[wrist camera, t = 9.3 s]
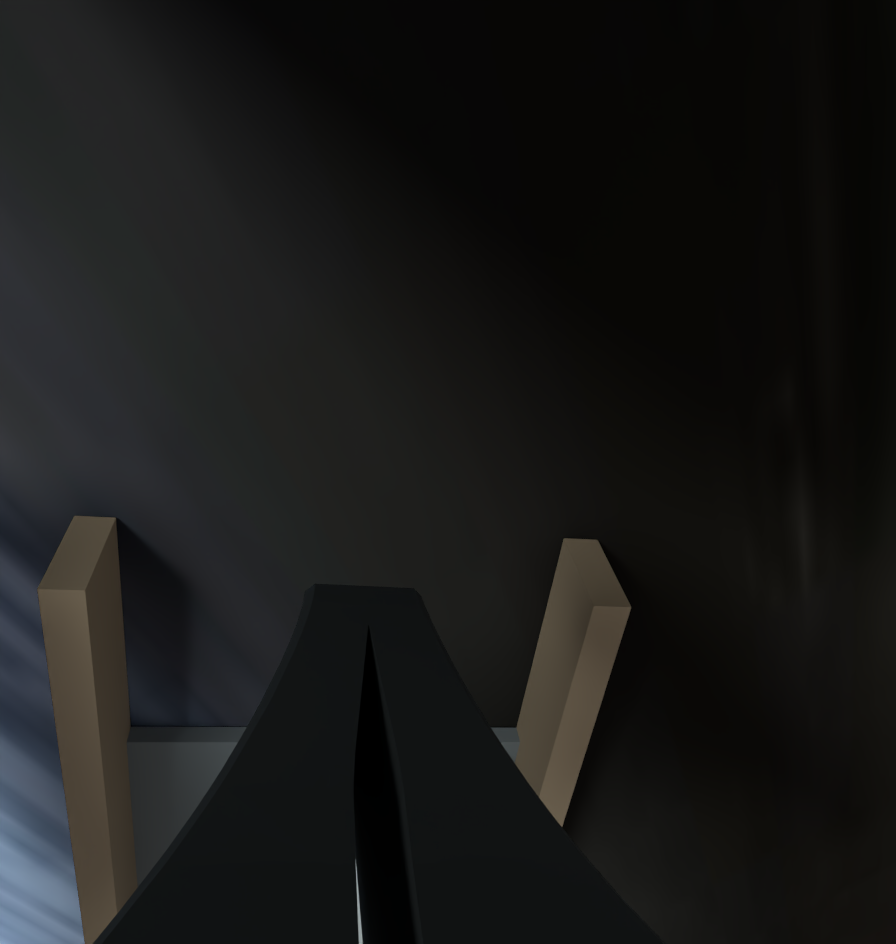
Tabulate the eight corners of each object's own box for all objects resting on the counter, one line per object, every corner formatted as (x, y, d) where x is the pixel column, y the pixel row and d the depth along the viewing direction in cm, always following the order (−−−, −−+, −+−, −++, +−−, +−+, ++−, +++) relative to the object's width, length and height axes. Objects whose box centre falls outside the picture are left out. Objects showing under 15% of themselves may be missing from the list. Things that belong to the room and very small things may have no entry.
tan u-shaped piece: (121, 980, 30) (101, 1070, 28) (74, 515, 20) (36, 589, 18) (481, 962, 33) (493, 1043, 30) (597, 539, 23) (631, 607, 20)
